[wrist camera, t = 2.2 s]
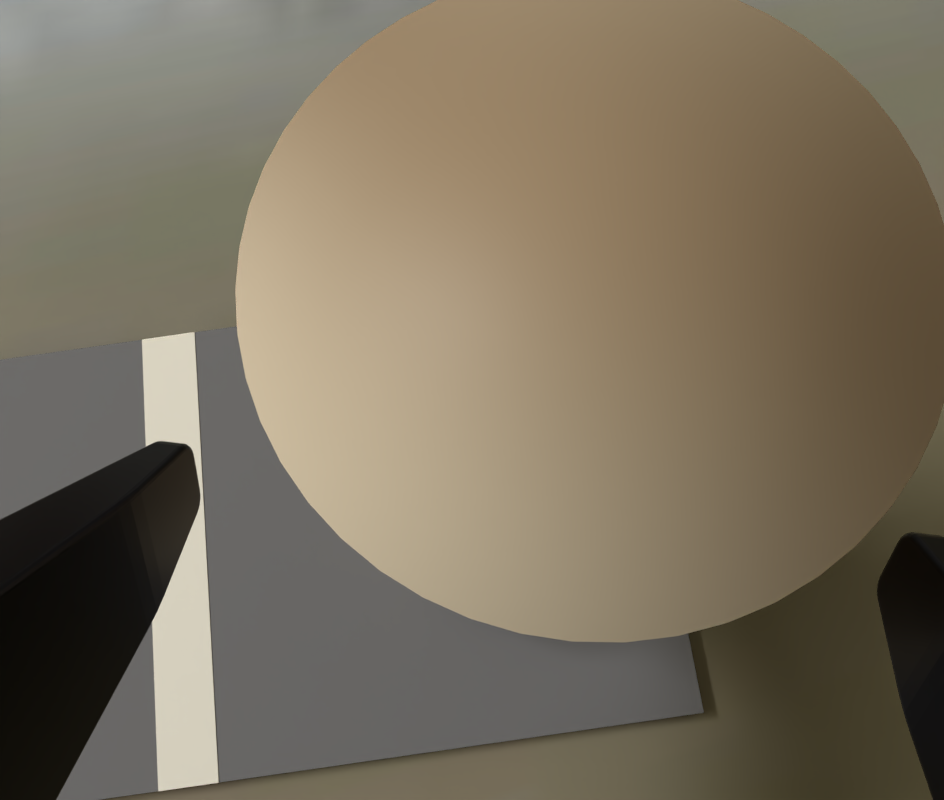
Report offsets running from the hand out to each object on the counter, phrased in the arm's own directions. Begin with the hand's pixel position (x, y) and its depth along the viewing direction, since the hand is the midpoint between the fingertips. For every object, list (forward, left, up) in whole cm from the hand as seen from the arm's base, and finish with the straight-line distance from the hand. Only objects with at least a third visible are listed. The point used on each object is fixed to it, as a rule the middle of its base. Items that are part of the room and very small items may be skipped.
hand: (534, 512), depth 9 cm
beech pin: (+1, 0, -9) cm, 9 cm away
